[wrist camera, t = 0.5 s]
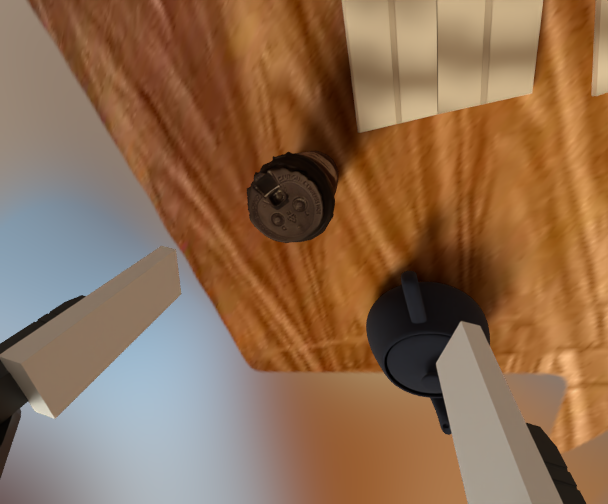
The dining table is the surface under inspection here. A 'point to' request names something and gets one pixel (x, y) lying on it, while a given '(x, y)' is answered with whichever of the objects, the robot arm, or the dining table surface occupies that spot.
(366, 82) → the plank
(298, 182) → the coffee cup
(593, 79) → the plank
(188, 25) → the dining table surface
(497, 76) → the laid board
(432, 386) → the teapot
